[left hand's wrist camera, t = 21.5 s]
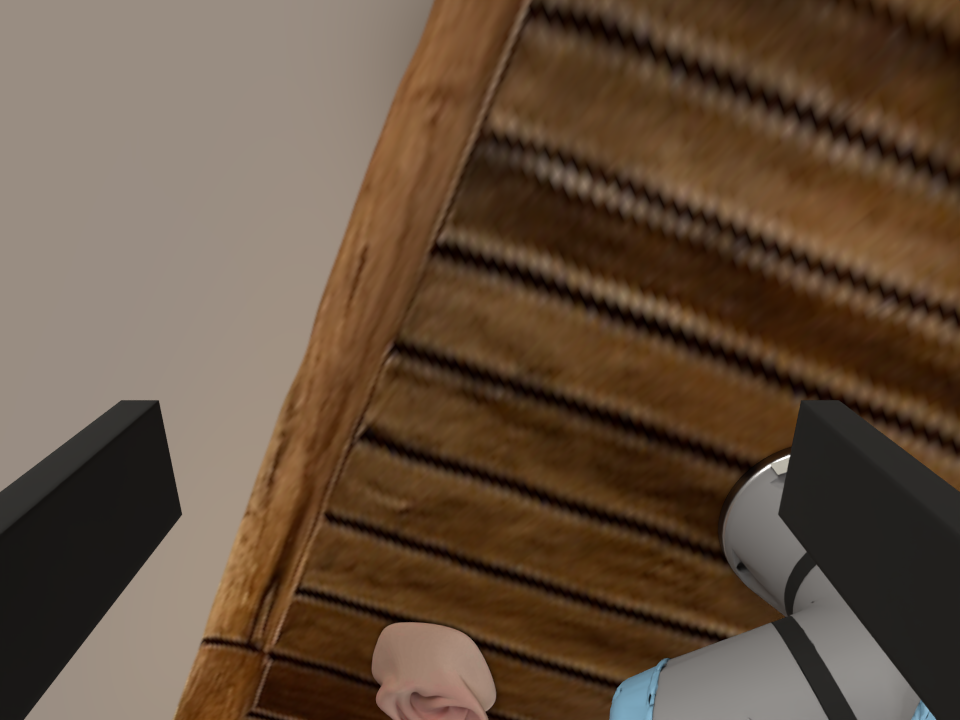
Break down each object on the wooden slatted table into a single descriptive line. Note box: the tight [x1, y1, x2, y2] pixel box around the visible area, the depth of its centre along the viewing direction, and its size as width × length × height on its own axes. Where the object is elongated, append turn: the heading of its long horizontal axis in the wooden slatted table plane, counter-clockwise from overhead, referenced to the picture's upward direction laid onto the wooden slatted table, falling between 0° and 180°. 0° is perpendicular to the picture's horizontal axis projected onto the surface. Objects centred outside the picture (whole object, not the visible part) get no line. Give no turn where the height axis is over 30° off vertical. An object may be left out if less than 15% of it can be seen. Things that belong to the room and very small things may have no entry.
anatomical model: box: [372, 622, 496, 720], centre depth 58 cm, size 13×4×12 cm
